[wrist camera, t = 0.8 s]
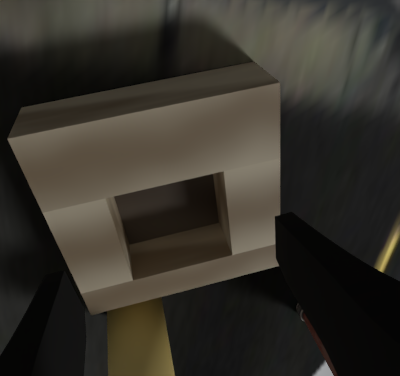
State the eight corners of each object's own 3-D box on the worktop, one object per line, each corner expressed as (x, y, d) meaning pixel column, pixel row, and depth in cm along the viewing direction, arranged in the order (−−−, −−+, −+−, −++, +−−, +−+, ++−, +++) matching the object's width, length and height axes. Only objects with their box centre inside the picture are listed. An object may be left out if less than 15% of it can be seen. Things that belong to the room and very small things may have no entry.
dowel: (165, 311, 29) (184, 418, 23) (114, 325, 29) (119, 438, 22) (155, 277, 27) (173, 385, 20) (100, 291, 26) (100, 406, 20)
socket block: (260, 230, 27) (280, 265, 24) (92, 272, 25) (91, 315, 22) (254, 61, 20) (280, 82, 17) (21, 107, 18) (7, 138, 16)
